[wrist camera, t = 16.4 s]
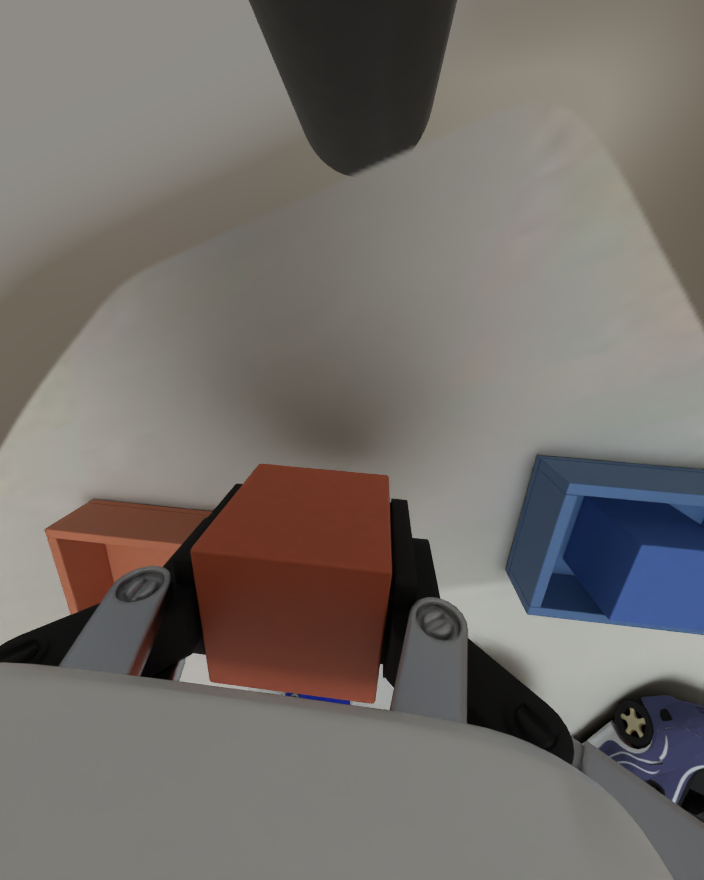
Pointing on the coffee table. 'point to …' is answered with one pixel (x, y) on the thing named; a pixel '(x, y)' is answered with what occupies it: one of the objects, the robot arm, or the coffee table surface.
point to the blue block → (640, 561)
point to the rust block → (297, 582)
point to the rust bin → (114, 544)
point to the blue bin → (555, 512)
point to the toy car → (660, 747)
